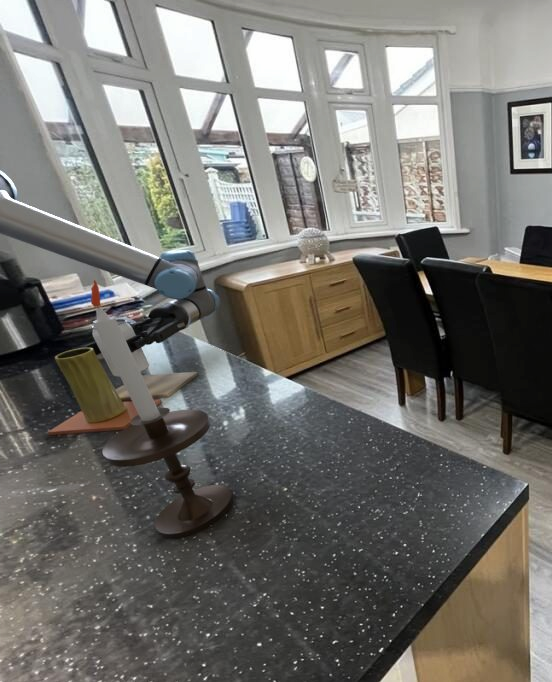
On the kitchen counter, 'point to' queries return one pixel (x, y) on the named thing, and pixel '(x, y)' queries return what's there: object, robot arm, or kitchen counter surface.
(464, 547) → the kitchen counter surface
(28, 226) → the robot arm
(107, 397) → the vase
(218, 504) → the candlestick
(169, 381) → the birch mat
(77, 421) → the terracotta mat
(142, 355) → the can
